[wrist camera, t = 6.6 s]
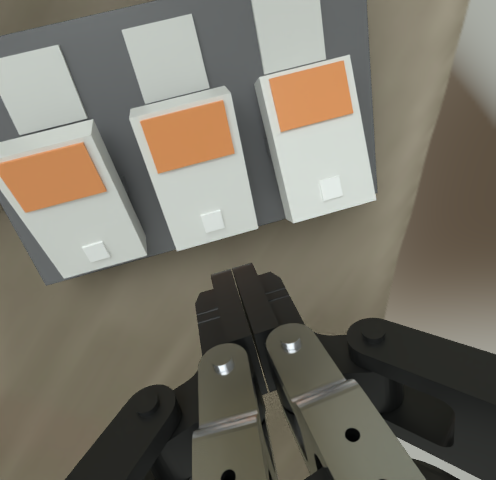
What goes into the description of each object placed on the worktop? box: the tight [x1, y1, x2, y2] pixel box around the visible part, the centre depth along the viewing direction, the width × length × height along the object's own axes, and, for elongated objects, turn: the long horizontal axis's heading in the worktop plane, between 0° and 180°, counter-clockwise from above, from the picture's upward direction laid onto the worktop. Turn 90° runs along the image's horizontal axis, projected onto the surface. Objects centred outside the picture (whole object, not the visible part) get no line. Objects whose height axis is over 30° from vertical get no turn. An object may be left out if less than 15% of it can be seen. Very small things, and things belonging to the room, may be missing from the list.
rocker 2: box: [254, 55, 376, 223], centre depth 19 cm, size 7×4×2 cm, turn 12°
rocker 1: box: [0, 119, 147, 279], centre depth 18 cm, size 7×4×2 cm, turn 11°
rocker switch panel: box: [0, 0, 377, 285], centre depth 21 cm, size 12×24×4 cm, turn 102°
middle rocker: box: [129, 86, 258, 251], centre depth 19 cm, size 7×4×2 cm, turn 12°
